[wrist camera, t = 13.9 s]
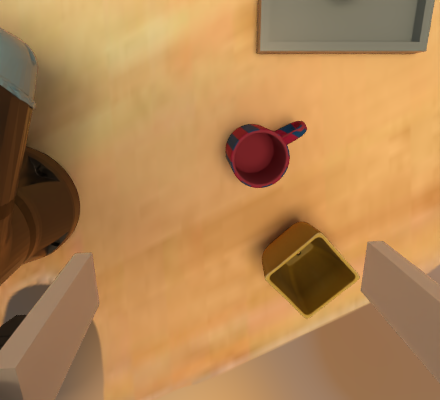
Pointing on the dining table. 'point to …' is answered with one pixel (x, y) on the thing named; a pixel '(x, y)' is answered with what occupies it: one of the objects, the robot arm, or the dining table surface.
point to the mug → (261, 152)
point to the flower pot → (306, 269)
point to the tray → (343, 26)
